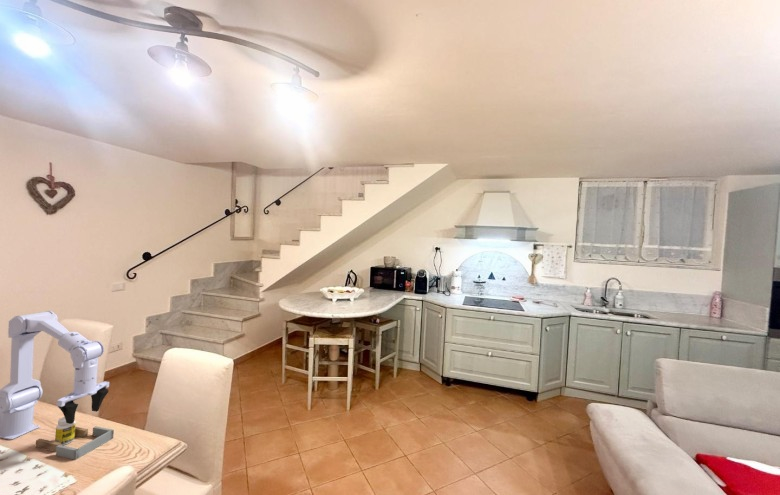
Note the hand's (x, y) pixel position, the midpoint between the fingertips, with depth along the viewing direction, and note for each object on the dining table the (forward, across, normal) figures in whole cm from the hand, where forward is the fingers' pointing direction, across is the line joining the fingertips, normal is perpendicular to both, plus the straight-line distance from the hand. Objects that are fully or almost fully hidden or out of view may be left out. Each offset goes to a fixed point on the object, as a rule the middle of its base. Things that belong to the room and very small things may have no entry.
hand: (83, 416), depth 106 cm
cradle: (+10, 0, -2) cm, 10 cm away
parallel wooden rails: (+10, 0, +8) cm, 13 cm away
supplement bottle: (+10, 0, +7) cm, 12 cm away
